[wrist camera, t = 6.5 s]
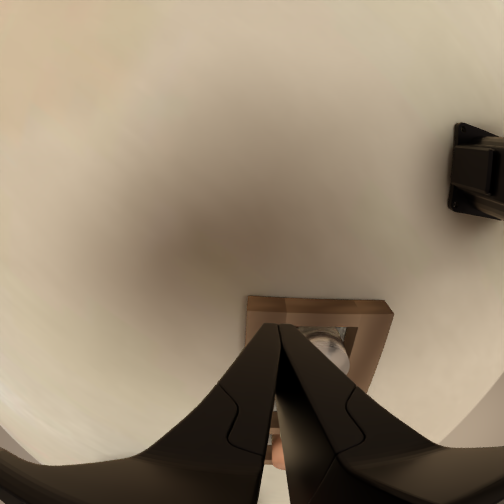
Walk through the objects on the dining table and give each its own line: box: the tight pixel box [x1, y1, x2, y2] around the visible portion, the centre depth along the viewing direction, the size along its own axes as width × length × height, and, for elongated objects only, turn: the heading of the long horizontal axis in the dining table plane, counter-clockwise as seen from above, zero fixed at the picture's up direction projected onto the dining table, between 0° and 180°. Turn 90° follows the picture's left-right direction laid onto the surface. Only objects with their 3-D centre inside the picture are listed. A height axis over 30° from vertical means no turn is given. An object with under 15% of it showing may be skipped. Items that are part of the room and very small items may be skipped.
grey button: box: [297, 326, 350, 375], centre depth 20 cm, size 4×4×3 cm
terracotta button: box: [272, 434, 286, 470], centre depth 23 cm, size 4×4×3 cm
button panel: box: [245, 296, 394, 465], centre depth 23 cm, size 10×19×2 cm, turn 177°
